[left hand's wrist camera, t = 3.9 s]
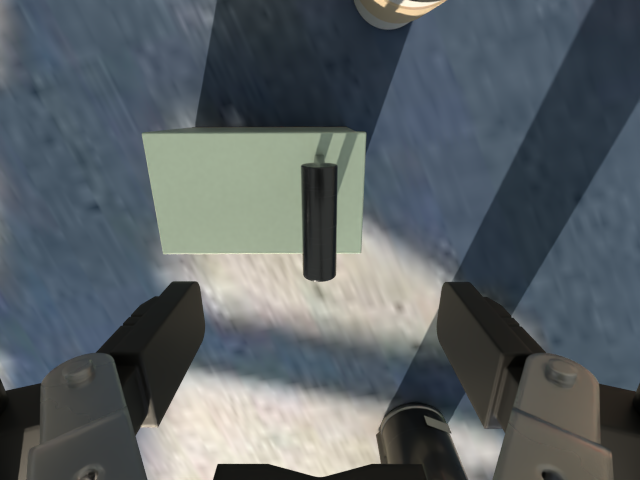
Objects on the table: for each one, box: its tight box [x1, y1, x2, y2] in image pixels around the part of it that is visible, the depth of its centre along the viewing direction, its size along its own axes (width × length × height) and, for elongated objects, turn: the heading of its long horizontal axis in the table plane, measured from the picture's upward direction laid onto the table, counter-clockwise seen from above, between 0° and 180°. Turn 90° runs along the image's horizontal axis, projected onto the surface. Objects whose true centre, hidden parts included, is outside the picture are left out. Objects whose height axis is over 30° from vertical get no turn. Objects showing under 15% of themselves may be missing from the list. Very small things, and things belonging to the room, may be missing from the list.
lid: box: [142, 132, 366, 282], centre depth 23 cm, size 16×10×9 cm, turn 90°
